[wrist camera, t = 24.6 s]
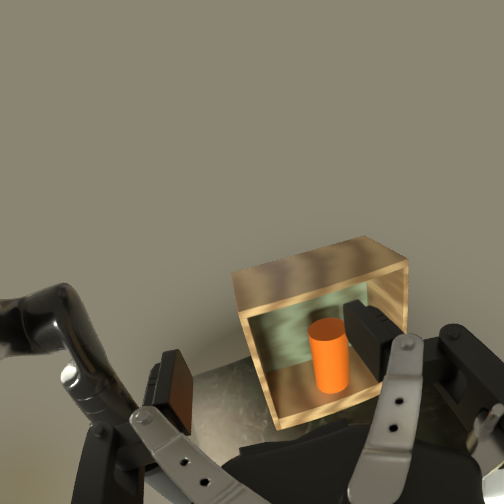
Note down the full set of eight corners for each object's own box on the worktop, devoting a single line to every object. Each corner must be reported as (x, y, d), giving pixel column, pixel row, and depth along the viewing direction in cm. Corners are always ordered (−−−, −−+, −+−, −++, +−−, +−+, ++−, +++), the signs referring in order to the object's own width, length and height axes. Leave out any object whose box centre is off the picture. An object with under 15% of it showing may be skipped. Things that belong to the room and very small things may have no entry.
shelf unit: (276, 430, 37) (237, 312, 30) (264, 382, 49) (231, 272, 41) (400, 384, 38) (408, 258, 31) (370, 346, 50) (364, 235, 43)
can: (321, 398, 38) (314, 346, 35) (311, 375, 44) (302, 324, 40) (355, 385, 38) (353, 332, 35) (342, 365, 44) (338, 313, 40)
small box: (506, 481, 13) (544, 441, 9) (501, 515, 8) (544, 484, 5) (456, 488, 17) (486, 452, 14) (448, 524, 13) (482, 499, 9)
